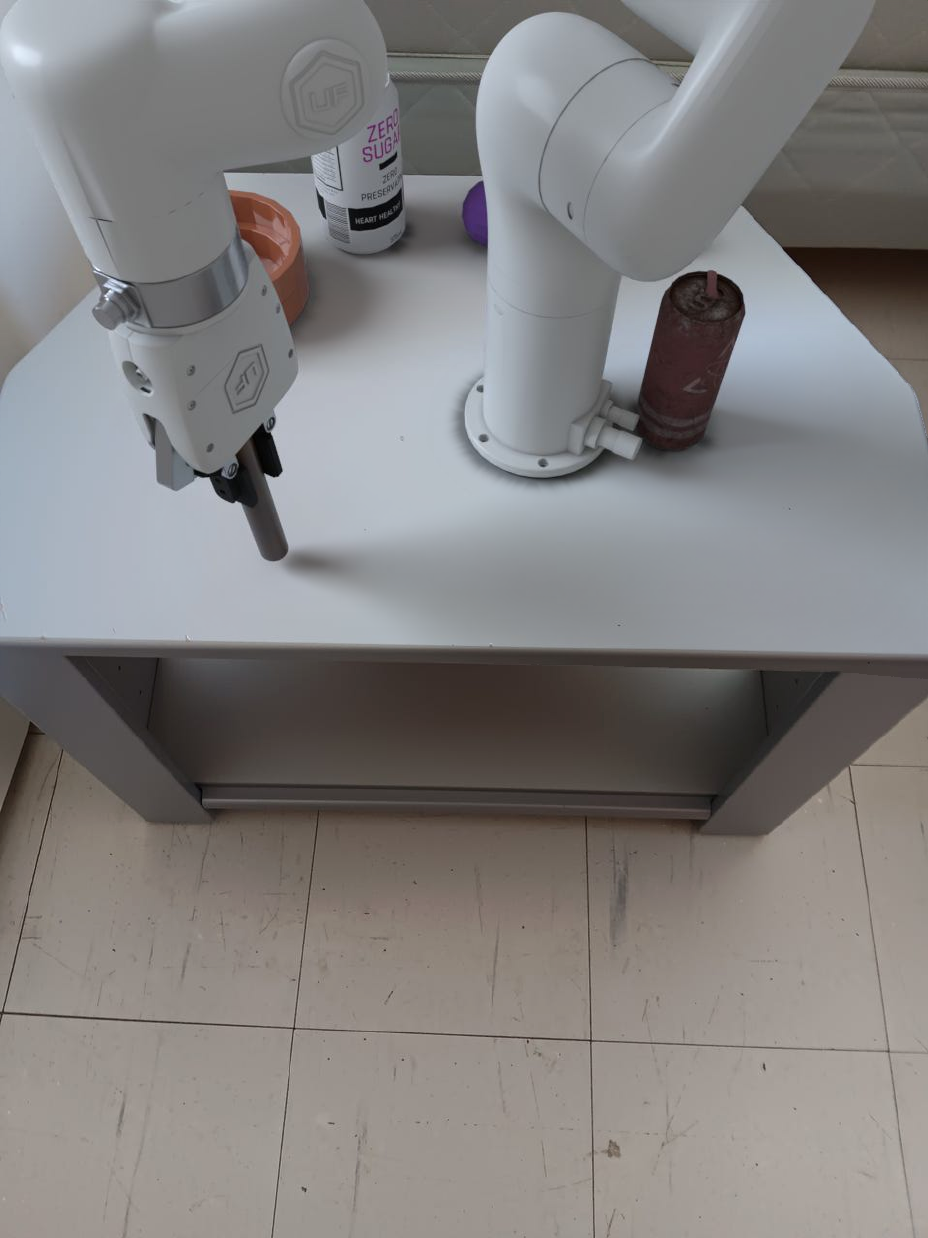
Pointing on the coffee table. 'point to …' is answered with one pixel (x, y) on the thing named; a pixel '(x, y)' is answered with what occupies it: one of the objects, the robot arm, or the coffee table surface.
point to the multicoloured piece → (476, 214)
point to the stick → (262, 508)
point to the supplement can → (364, 183)
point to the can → (688, 358)
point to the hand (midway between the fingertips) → (250, 481)
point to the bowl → (275, 247)
